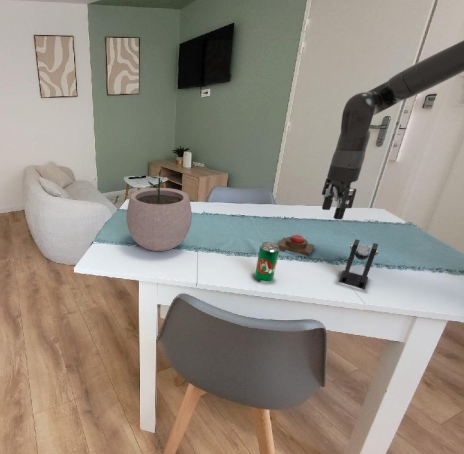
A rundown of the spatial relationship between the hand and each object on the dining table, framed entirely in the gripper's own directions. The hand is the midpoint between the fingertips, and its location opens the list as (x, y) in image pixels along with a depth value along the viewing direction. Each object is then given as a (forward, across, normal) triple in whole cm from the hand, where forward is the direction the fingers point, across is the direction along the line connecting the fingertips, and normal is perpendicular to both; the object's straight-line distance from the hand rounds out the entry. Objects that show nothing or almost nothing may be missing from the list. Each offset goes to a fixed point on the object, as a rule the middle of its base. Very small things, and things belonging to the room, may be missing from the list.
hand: (331, 214), depth 95 cm
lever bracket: (+16, +15, +3) cm, 22 cm away
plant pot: (+16, +1, -56) cm, 58 cm away
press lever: (+9, +12, +5) cm, 16 cm away
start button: (+12, -4, -6) cm, 15 cm away
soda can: (+16, +18, -22) cm, 33 cm away
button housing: (+16, -4, -6) cm, 18 cm away
